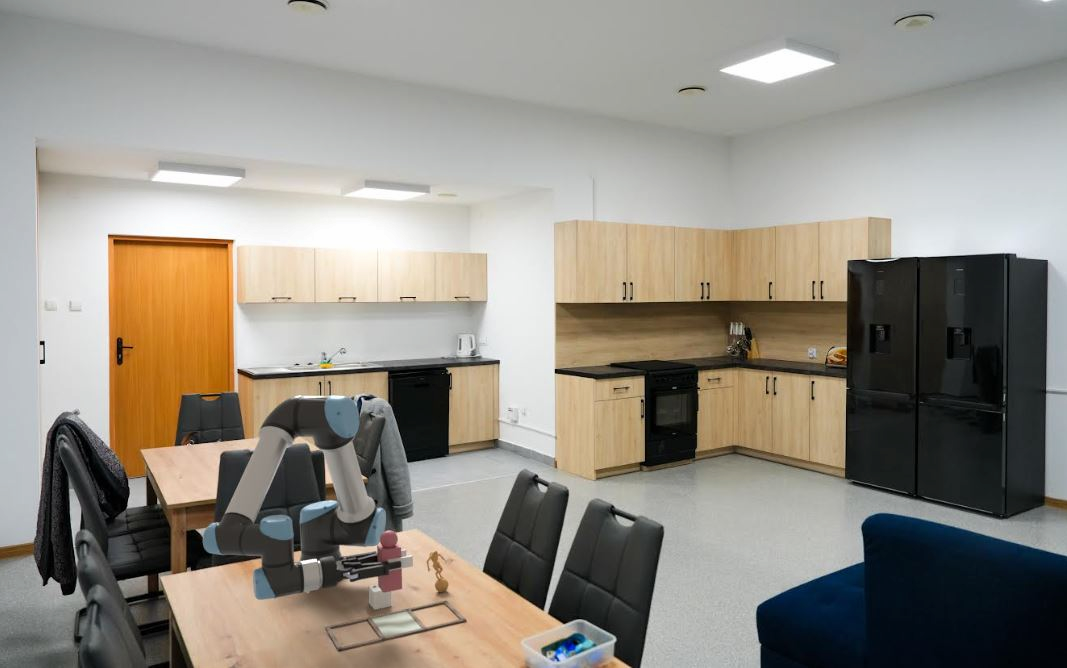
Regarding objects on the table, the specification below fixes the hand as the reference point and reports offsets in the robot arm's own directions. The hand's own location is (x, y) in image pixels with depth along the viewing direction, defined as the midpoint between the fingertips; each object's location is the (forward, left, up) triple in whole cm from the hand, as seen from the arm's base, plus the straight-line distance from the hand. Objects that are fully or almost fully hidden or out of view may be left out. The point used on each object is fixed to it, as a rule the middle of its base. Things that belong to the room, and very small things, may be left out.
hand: (408, 557), depth 197 cm
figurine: (-18, +15, -18) cm, 29 cm away
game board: (-2, -3, -18) cm, 18 cm away
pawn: (0, -5, -7) cm, 9 cm away
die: (-17, -3, -18) cm, 25 cm away
